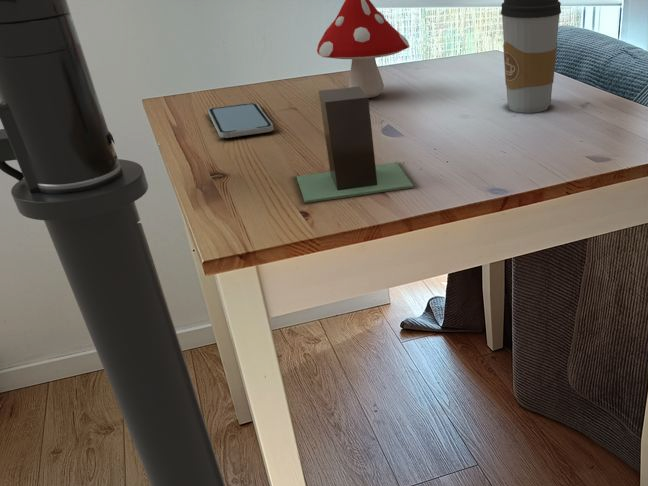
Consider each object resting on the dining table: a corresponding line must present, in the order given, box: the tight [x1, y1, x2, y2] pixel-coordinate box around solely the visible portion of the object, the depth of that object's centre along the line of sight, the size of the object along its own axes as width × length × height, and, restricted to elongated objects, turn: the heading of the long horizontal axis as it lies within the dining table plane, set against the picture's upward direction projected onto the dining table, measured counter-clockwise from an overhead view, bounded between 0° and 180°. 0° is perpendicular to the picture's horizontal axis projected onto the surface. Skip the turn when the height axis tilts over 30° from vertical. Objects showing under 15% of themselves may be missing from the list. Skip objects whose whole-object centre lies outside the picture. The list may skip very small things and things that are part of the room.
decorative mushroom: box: [316, 0, 410, 99], centre depth 106 cm, size 14×14×15 cm
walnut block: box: [318, 87, 377, 190], centre depth 76 cm, size 4×5×10 cm
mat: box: [296, 162, 414, 204], centre depth 78 cm, size 12×8×1 cm, turn 108°
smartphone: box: [207, 102, 275, 139], centre depth 99 cm, size 7×1×15 cm
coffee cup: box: [500, 0, 562, 114], centre depth 98 cm, size 8×8×15 cm
